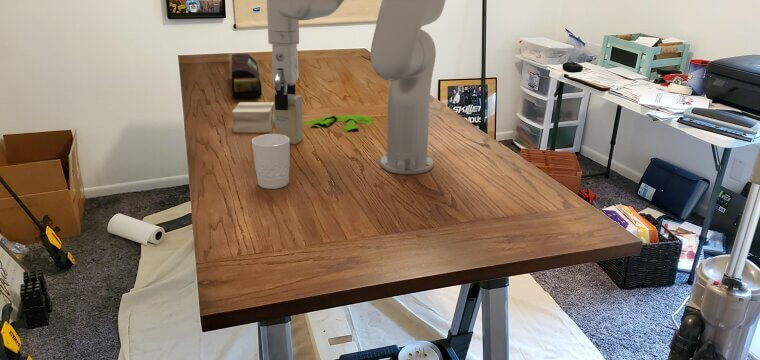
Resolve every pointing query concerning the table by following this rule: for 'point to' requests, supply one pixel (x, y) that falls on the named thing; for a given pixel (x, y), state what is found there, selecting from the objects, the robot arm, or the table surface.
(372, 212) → the table surface
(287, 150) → the white cup
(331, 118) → the cloth
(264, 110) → the maple block
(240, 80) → the packaged item
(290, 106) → the skincare box
